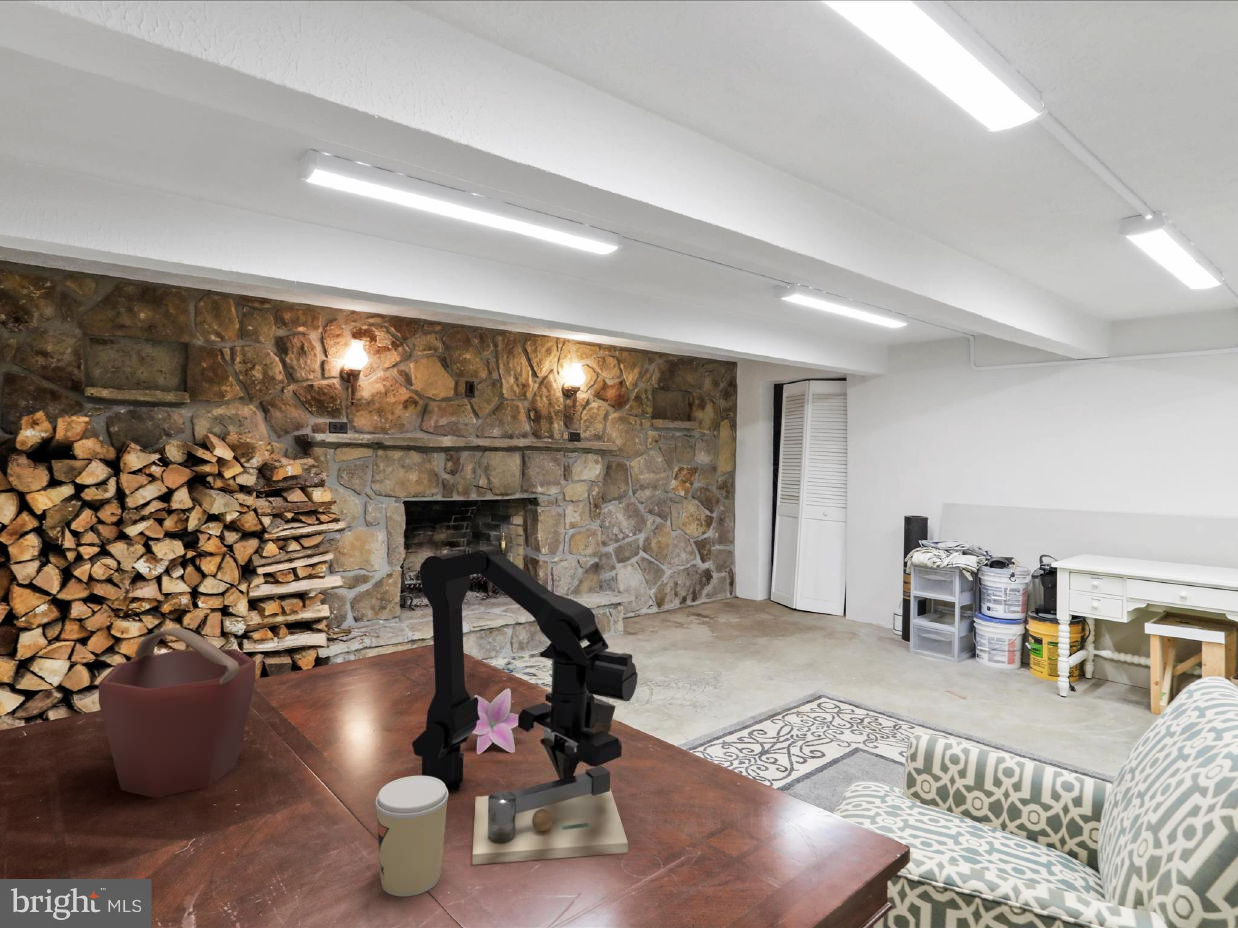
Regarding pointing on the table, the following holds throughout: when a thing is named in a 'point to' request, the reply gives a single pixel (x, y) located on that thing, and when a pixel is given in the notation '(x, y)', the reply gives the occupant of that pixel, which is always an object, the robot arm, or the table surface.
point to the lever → (540, 799)
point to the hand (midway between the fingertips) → (566, 785)
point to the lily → (496, 723)
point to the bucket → (176, 714)
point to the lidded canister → (411, 834)
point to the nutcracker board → (554, 831)
